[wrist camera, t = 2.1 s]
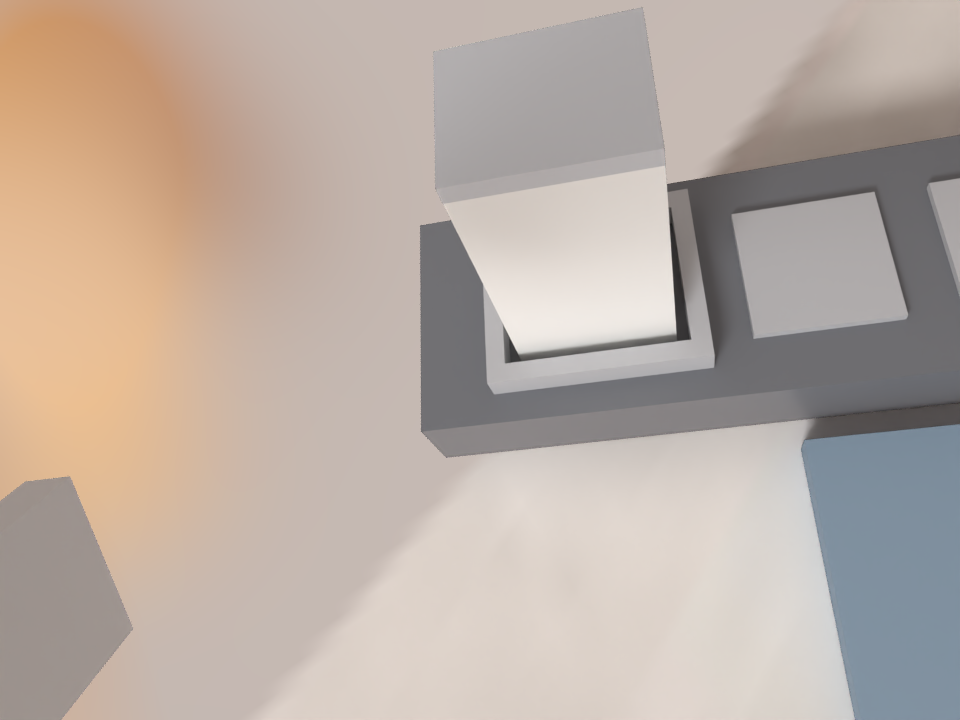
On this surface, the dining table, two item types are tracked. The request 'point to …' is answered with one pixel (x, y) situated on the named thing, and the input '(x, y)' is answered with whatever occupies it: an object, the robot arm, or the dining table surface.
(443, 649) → the dining table surface
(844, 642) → the mat
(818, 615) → the dining table surface
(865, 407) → the power strip
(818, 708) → the dining table surface
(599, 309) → the block
